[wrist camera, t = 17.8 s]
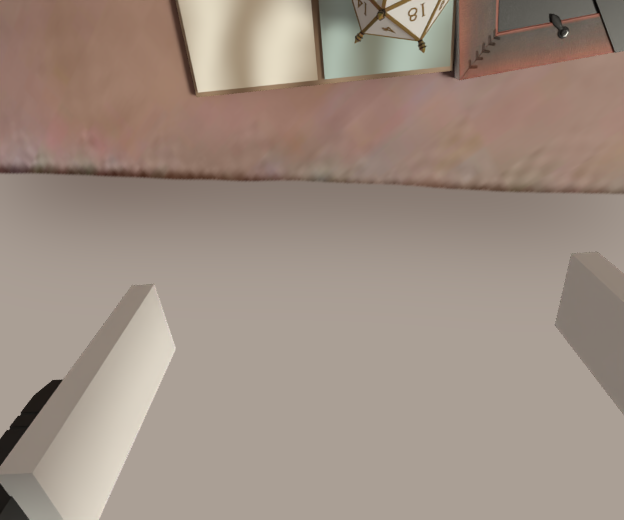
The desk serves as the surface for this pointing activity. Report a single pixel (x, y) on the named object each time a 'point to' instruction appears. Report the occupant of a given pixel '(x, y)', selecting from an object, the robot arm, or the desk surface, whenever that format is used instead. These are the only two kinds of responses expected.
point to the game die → (397, 18)
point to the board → (299, 45)
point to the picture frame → (532, 33)
